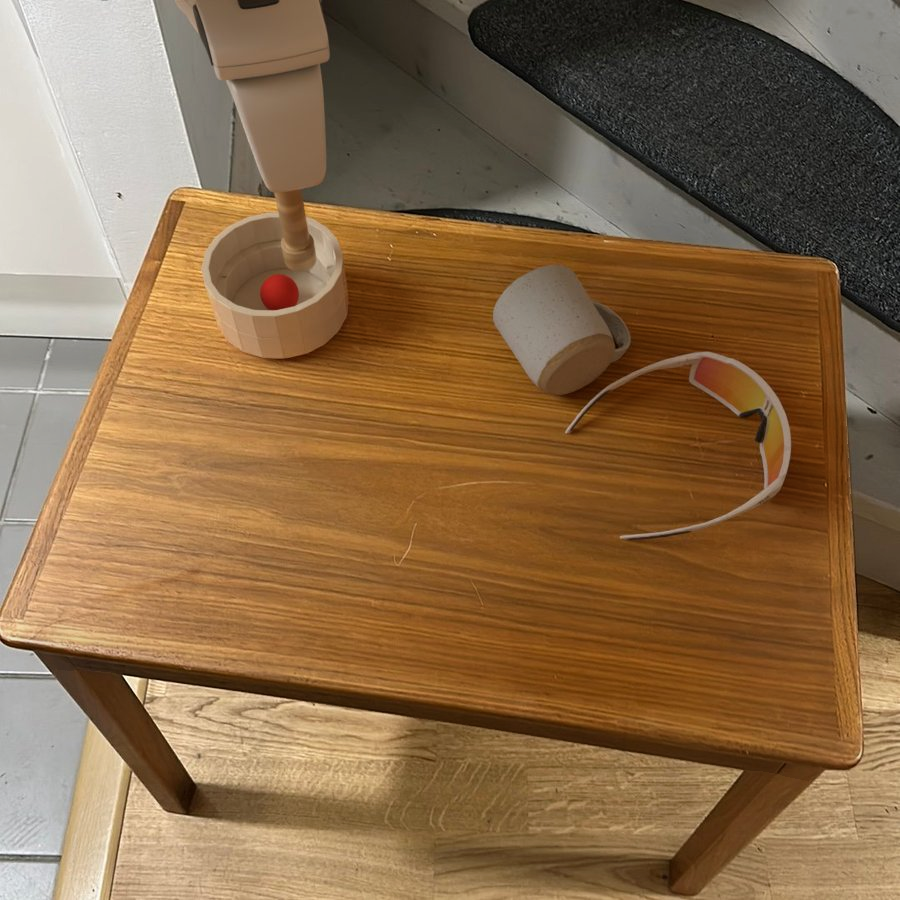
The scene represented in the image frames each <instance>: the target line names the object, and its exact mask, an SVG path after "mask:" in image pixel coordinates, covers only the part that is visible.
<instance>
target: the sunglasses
mask: <svg viewBox="0 0 900 900" xmlns="http://www.w3.org/2000/svg"><path fill="white" fill-rule="evenodd" d="M688 365H690V371H689V377H688V382H689V383H690V384H691V385H693V386H694V387H696V388H698V389H700V390H701V391H703V392H704V393H706V394H708V395H710V396H711V397H713V398H714V399H715V400H716V401H718V402H720V403H721V404H722V405H724V406H725V407H726V408H728V409H729V410H730V411H731V412H733V413H734V414H735V415H736V416H737V417H739V418H740V419H747V418H749V417H752V416H753V415H755V414H758V416H759V418H760V419H761V421H760V425H759V426H758V429H757V431H756V434H755V438H754V442H756V443H758V444H759V452H760V457H761V461H762V466H763V477H764V478H763V479H764V483H763V489H762V490H761V491H760V492H758V493H757V494H756V495H755V496H754V497H752V498H751V499H749V500H747V501H746V502H745V503H744V504H742V505H740V506H738V507H736V508H735V509H733V510H731V511H730V512H727V513H726V514H724V515H720V516H718V517H716V518H713V519H711V520H708V521H705V522H701V523H698V524H697V523H696V524H693V525H688V526H685V527H680V528H675V529H670V530H664V531H663V530H662V531H655V532H648V533H635V534H634V533H633V534H623V535H620V536H619V538H620V539H621V540H625V541H639V540H640V541H641V540H653V539H660V538H667V537H672V536H679V535H684V534H689V533H692V532H697V531H700V530H704V529H708V528H710V527H713V526H715V525H718V524H720V523H722V522H725V521H727V520H731V519H732V518H734V517H737V516H739V515H743V514H744V513H746V512H748V511H750V510H752V509H754V508H757V507H759V506H760V505H762V504H764V502H766V501H769V500H770V499H772V498H773V497H775V496H776V495H777V494H778V493H779V492H780V491H781V489H782V486H783V485H784V482H785V478H786V476H787V474H788V469H789V464H790V461H791V453H792V437H791V436H792V435H791V428H790V425H789V420H788V417H787V413H786V411H785V409H784V407H783V405H782V402H781V400H780V399H779V397H778V396H777V394H776V392H775V391H774V390H773V388H772V387H771V386H770V385H769V384H768V383H767V382H766V381H765V380H764V378H762V377H761V375H759V374H758V373H757V372H756V371H755V370H753V369H751V368H750V367H749V366H747V365H746V364H744V363H743V362H741V361H739V360H737V359H735V358H733V357H727V356H725V355H721V354H719V353H715V352H712V351H695V352H691V353H687V354H682V355H678V356H677V355H676V356H674V357H670V358H669V357H668V358H666V359H662V360H660V361H658V362H654V363H652V364H649V365H647V366H644V367H642V368H639V369H638V370H635V371H633V372H630V373H629V374H627V375H625V376H623V377H621V378H619V379H618V380H616V381H614V382H612V383H610V384H608V385H607V386H605V388H603V389H602V390H601V391H599V392H598V393H597V394H596V395H595V396H594V397H593V398H592V399H590V401H589V402H587V403H586V405H585V406H584V407H583V408H582V409H581V411H580V412H579V413H578V414H577V415H576V417H575V418H574V419H573V420H572V421H571V423H570V424H569V426H568V427H567V428H566V430H565V431H564V433H565V434H570V433H571V432H572V431H573V430H574V429H575V428H576V426H577V425H578V424H579V422H580V421H581V420H582V419H583V417H585V415H586V414H587V413H588V412H589V411H590V409H592V408H593V406H594V405H596V403H598V402H599V401H600V400H601V399H602V398H603V397H604V396H606V395H607V394H608V393H610V392H612V391H614V390H615V389H616V388H617V389H618V388H619V387H621V386H624V385H625V384H627V383H628V382H630V381H632V380H633V379H635V378H638V377H639V376H642V375H644V374H647V373H650V372H653V371H656V370H663V369H675V368H679V367H684V366H688Z"/></svg>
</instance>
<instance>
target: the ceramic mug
mask: <svg viewBox="0 0 900 900" xmlns="http://www.w3.org/2000/svg"><path fill="white" fill-rule="evenodd" d="M492 321H493V322H492V323H493V324H494V326H495V328H496V329H497V331H498V332H499V333H500V335H501V337H502V339H503V340H504V341H505V343H506V344H507V346H508V347H509V349H510V351H511V352H512V354H513V355H514V356H515V358H516V360H517V361H518V363H519V364H520V365H521V367H522V369H523V370H524V372H525V373H526V375H527V377H528V378H529V379H530V380H531V382H532V383H533V384H534V385H535V386H536V387H537V389H539V390H540V391H541V392H543V393H544V394H547V395H551V396H564V395H567V394H571V393H574V392H576V391H578V390H581V389H582V388H584V387H586V386H588V385H590V384H591V383H592V382H594V381H595V380H596V379H598V378H599V377H600V376H601V375H602V374H603V373H604V372H605V371H606V370H607V369H608V367H609V366H610V365H611V363H614V362H616V361H618V360H620V359H621V358H622V357H623V355H625V353H626V352H627V351H628V349H629V347H630V345H631V343H632V342H631V341H632V338H631V337H632V336H631V333H630V329H629V328H628V327H627V325H626V323H625V321H624V320H623V319H622V318H621V317H620V316H619V315H618V314H617V312H615V311H614V310H613V309H611V308H610V307H608V306H607V305H604V304H602V303H600V302H599V301H595V300H592V299H591V298H590V296H589V294H588V292H587V291H586V289H585V288H584V286H583V284H582V282H581V281H580V280H579V278H578V276H577V274H575V272H574V271H573V269H571V268H570V267H568V266H566V265H561V264H549V265H544V266H539V267H537V268H535V269H533V270H530V271H528V272H526V273H525V274H523V275H521V276H520V277H518V278H516V279H515V280H514V281H513V282H512V283H510V284H509V285H508V286H507V287H506V288H505V290H504V291H503V292H502V293H501V294H500V296H499V297H498V299H497V300H496V302H495V305H494V308H493V311H492ZM616 346H617V347H618V348H616Z"/></svg>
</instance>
